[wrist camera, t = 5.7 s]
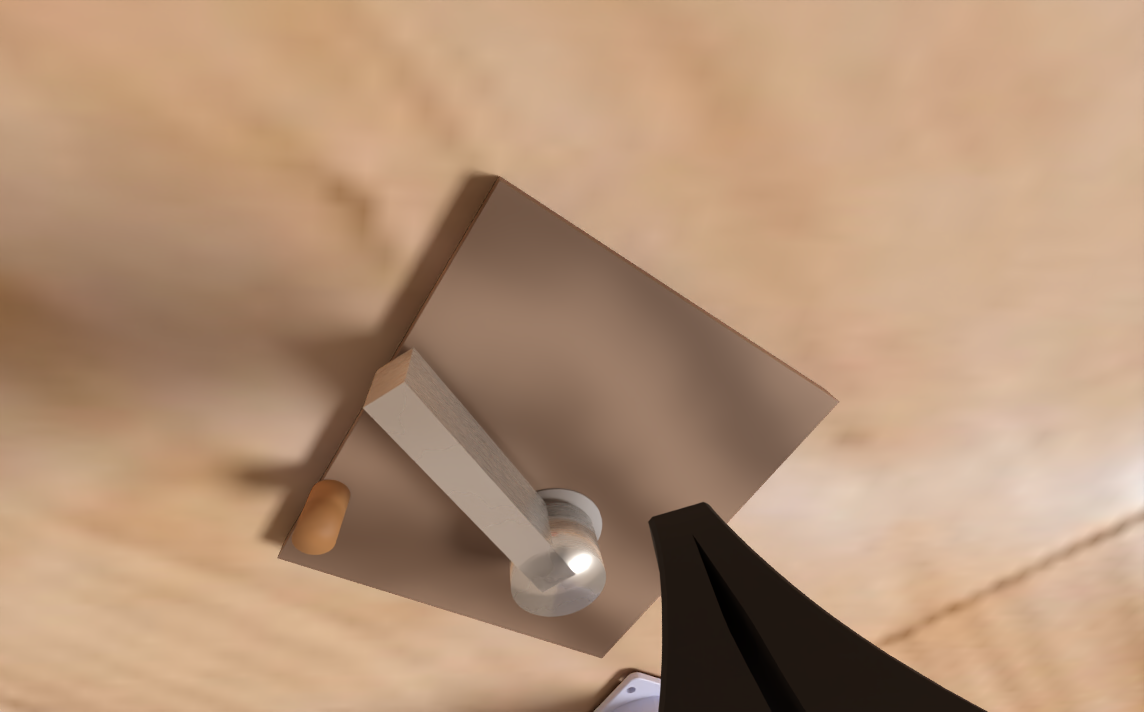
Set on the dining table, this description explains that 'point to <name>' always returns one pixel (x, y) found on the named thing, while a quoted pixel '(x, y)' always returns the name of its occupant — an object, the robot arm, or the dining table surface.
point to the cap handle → (490, 489)
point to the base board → (559, 424)
